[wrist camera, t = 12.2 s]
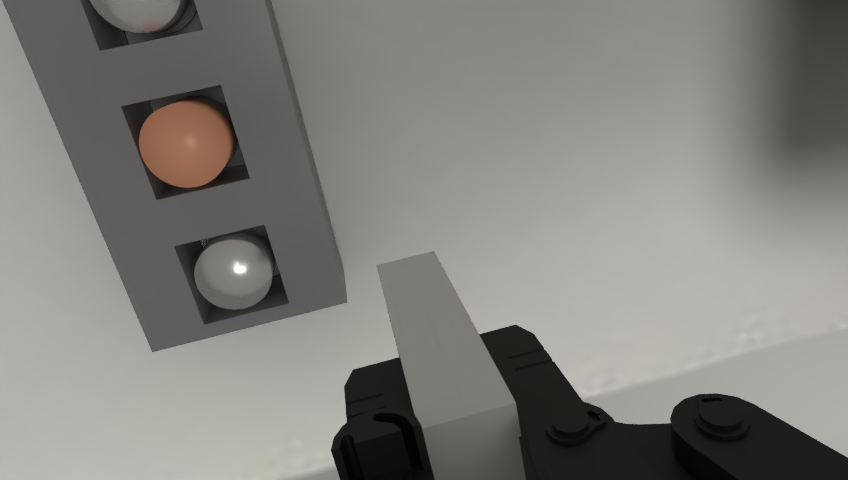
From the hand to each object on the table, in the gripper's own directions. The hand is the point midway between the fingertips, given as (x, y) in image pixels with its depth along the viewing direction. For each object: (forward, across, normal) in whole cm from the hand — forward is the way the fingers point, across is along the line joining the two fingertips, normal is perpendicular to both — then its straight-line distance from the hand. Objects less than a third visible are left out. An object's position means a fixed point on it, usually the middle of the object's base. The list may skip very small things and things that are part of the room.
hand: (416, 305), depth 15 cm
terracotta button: (+23, +9, -3) cm, 25 cm away
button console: (+24, +9, -3) cm, 26 cm away
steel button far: (+24, +9, +5) cm, 26 cm away
